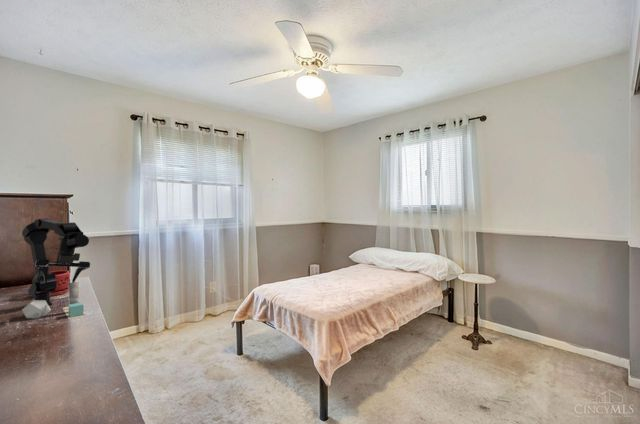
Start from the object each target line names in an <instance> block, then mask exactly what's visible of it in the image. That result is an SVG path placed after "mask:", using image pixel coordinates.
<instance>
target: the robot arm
mask: <svg viewBox="0 0 640 424" xmlns="http://www.w3.org/2000/svg"><path fill="white" fill-rule="evenodd" d="M50 230H51V231H53V232H54V234H55V235H58V236H59V239H58V240H59V241H60V242H59V247H58V252H57V254H56V255H57V256H56V260H55V261H50V259H48V257H47V253H46V249H45V242H46V240H47V238H48V234H49V233H50ZM21 233H22V234H21V235H22V237H23V239H24V241H25V242H26V243H27V244H28V245H29V246H30V250H31V256H32V260H33V267H34V272H35V275H34V276H33V278H32V281H31V283H32V284H31V285H30V287H29V288H28V290H27V292H28V295H29V296H33V297H34V299H33V301H34V300H46V302H47V304H48V305H49V306H52V305H53V304H52V301H51V296H50V292H52V291H55V290H56V286H57V280H56V278H55V274H54V273H51V272H52V271H50V269H49V267H50V266H51V267H74V268H76V269H75V271H74V275H73V276H72V277H73V278H72V279H71V281H72V282H76V280H77V278H78V277H79V276H80V274H81V272H82V271H85V270H88V269H90V267H91V266H90V265H91V262H90V261H81V260H80V257H81V253H77V252H75V251H76V250H75V249H77V248H84V247H86V246H87V245H88V244H89V243H90V239H89V237H88V236H87V235H85V234H84V232H83V231H82V230H81V229H80V227H79V225H77V223H76V222H73V221H72V222H60V221H57V220H53V219H50V218H37V219H35V220H34V221H33V222H31V223H29V224H27V225H25V227H24V229H22V232H21ZM78 261H79V262H78ZM72 282H71V283H72Z"/></svg>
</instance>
